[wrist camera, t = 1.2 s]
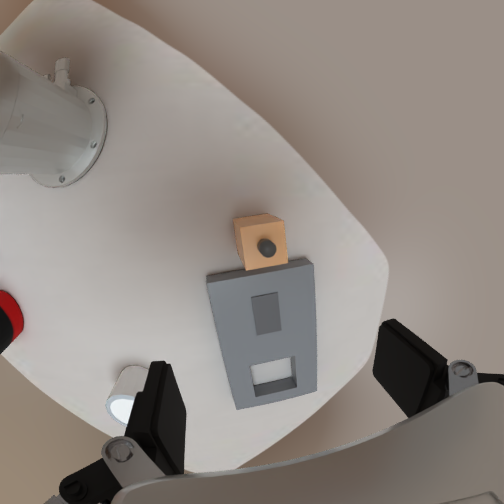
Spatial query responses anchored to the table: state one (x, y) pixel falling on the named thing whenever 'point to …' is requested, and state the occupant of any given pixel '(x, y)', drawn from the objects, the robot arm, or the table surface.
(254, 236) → the block
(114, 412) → the white short cylinder
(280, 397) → the socket plate
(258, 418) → the table surface
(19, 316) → the soda can
